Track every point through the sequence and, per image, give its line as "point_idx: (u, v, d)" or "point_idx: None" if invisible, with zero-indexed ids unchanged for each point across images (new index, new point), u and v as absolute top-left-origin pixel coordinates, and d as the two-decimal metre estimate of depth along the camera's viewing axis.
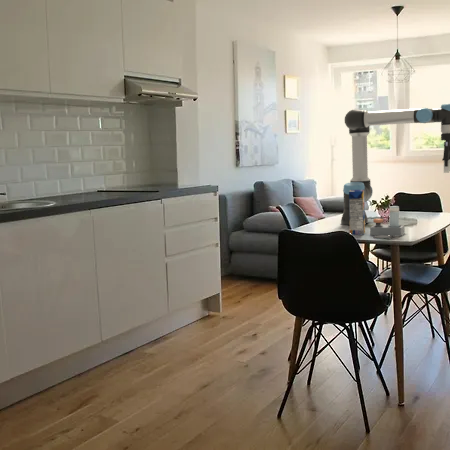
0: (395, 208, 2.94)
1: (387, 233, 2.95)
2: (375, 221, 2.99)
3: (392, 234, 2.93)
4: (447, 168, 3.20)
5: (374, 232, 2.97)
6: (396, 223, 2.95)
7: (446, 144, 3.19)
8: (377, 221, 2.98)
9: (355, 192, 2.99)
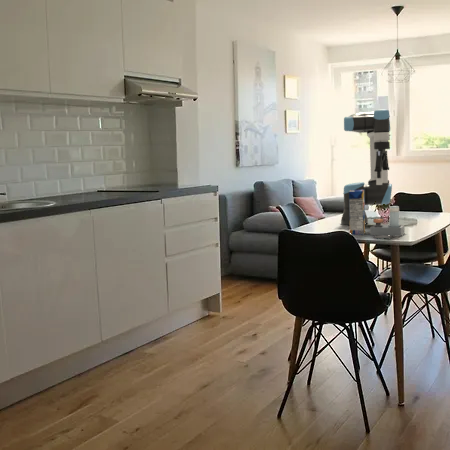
0: (395, 208, 2.94)
1: (387, 233, 2.95)
2: (375, 221, 2.99)
3: (392, 234, 2.93)
4: (380, 180, 2.92)
5: (374, 232, 2.97)
6: (396, 223, 2.95)
7: (378, 154, 2.91)
8: (377, 221, 2.98)
9: (355, 192, 2.99)
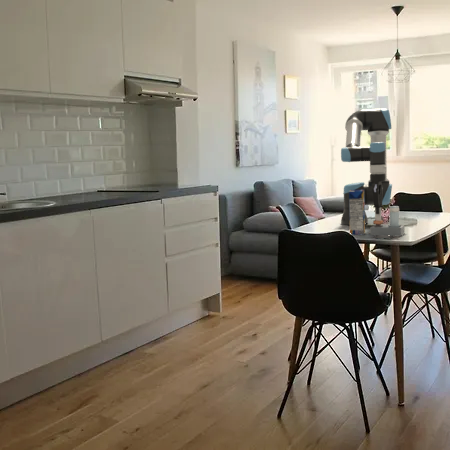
0: (395, 208, 2.94)
1: (387, 233, 2.95)
2: (375, 222, 2.99)
3: (392, 234, 2.93)
4: (378, 216, 2.99)
5: (374, 232, 2.97)
6: (396, 223, 2.95)
7: (375, 191, 2.93)
8: (377, 222, 2.98)
9: (355, 192, 2.99)
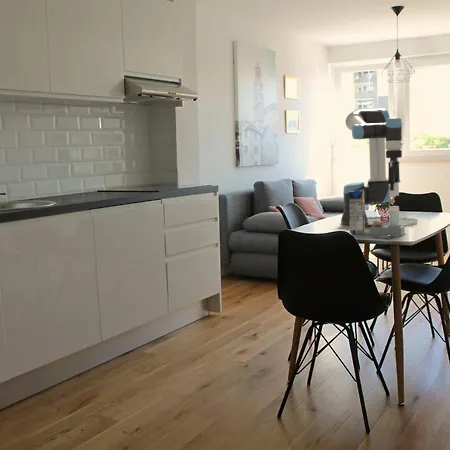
0: (395, 208, 2.94)
1: (387, 233, 2.95)
2: (375, 223, 2.99)
3: (392, 234, 2.93)
4: (393, 192, 2.91)
5: (374, 232, 2.97)
6: (396, 223, 2.95)
7: (390, 165, 2.87)
8: (377, 223, 2.98)
9: (355, 192, 2.99)
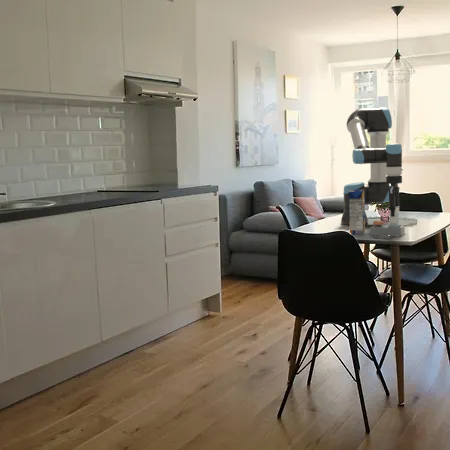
0: None
1: (387, 233, 2.95)
2: (375, 223, 2.99)
3: (392, 234, 2.93)
4: (394, 218, 2.93)
5: (374, 232, 2.97)
6: (396, 223, 2.95)
7: (391, 192, 2.89)
8: (377, 223, 2.98)
9: (355, 192, 2.99)
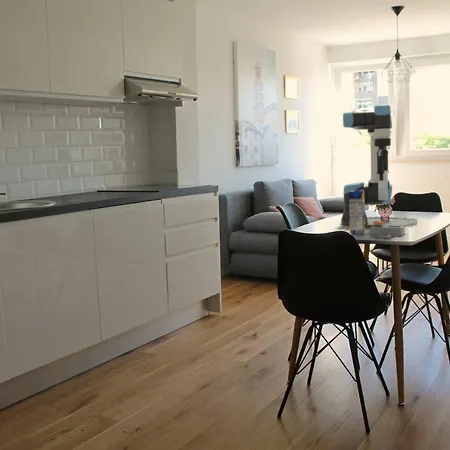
0: (384, 172, 2.83)
1: (387, 233, 2.95)
2: (375, 223, 2.99)
3: (392, 234, 2.93)
4: (382, 182, 2.83)
5: (374, 232, 2.97)
6: (385, 188, 2.84)
7: (379, 155, 2.79)
8: (377, 223, 2.98)
9: (355, 192, 2.99)
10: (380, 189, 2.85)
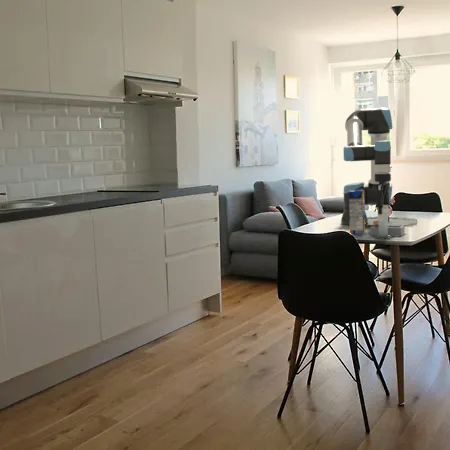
0: (384, 209, 2.86)
1: None
2: (375, 223, 2.99)
3: (392, 234, 2.93)
4: (381, 216, 2.83)
5: (374, 232, 2.97)
6: (385, 224, 2.87)
7: (379, 188, 2.80)
8: (377, 223, 2.98)
9: (355, 192, 2.99)
10: (380, 226, 2.87)
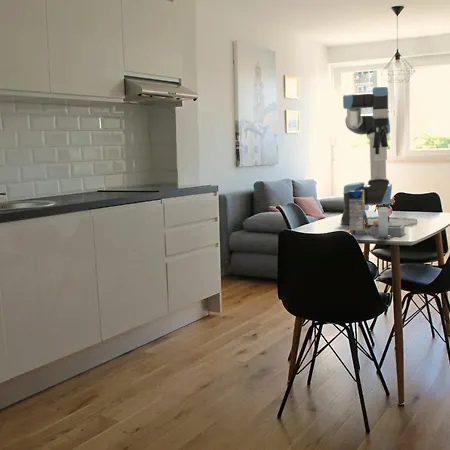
0: (384, 209, 2.85)
1: None
2: (375, 223, 2.99)
3: (392, 234, 2.93)
4: (378, 156, 2.96)
5: (374, 232, 2.97)
6: (385, 225, 2.86)
7: (377, 130, 2.94)
8: (377, 223, 2.98)
9: (355, 192, 2.99)
10: (380, 226, 2.87)
